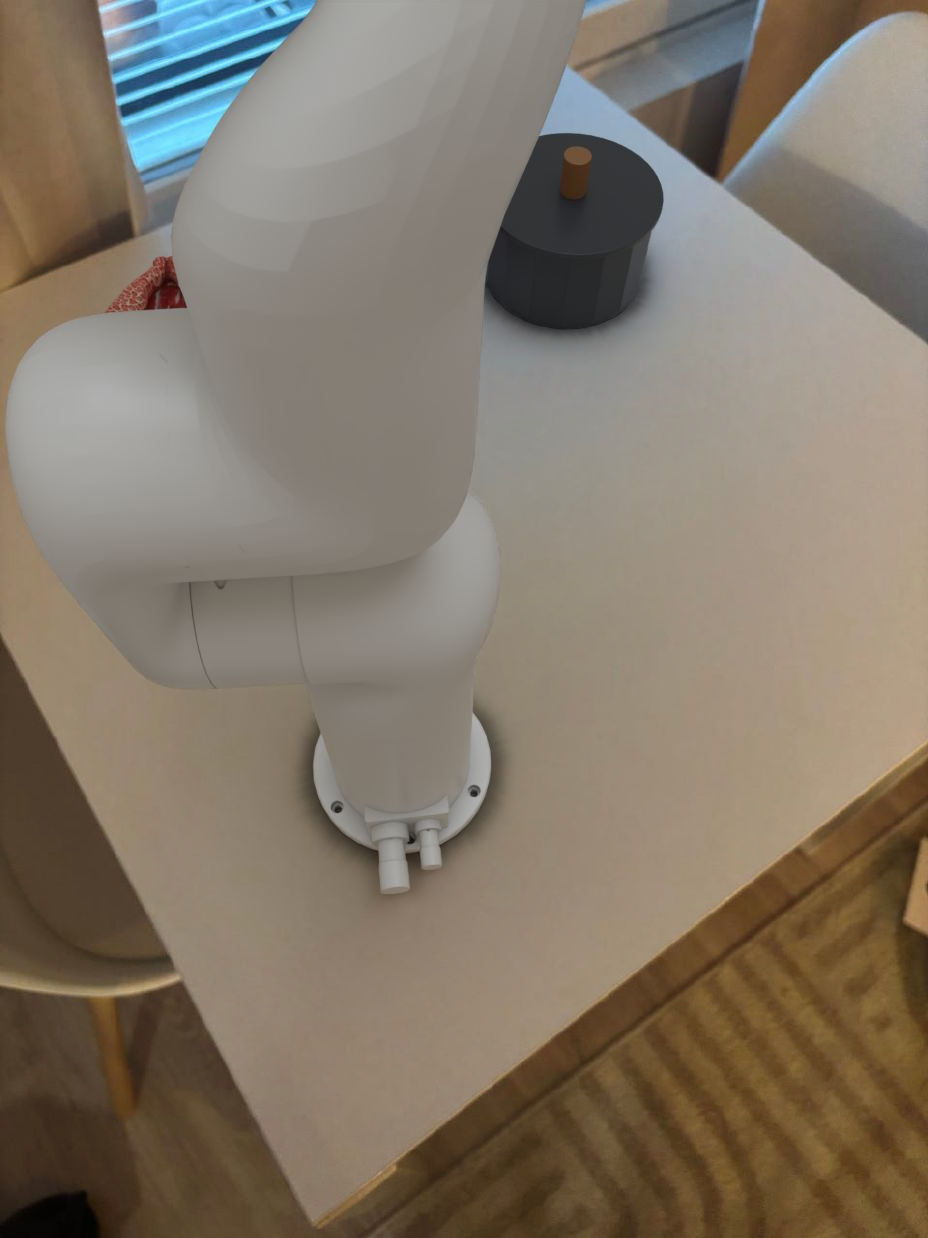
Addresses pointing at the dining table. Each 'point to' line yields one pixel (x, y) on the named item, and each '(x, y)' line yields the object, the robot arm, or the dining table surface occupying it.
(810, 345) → the dining table surface
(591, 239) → the pan lid
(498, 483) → the dining table surface
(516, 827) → the dining table surface
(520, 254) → the pot
